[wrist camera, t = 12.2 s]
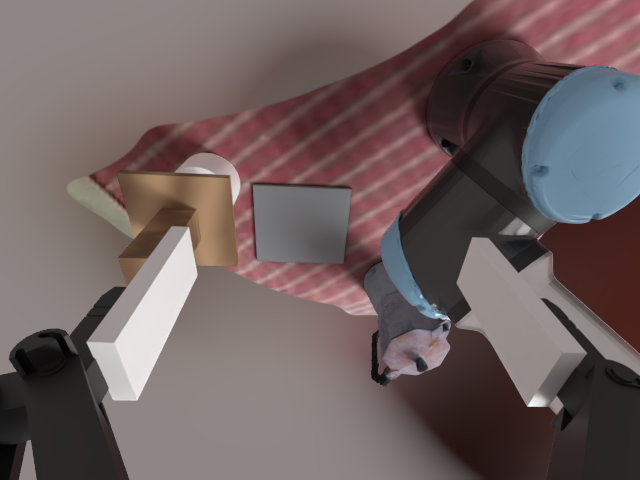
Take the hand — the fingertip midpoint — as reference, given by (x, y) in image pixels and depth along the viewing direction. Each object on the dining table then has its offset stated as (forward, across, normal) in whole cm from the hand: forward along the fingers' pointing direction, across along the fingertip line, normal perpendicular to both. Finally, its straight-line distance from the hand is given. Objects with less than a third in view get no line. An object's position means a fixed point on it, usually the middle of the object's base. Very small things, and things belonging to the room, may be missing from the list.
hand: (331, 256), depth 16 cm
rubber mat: (+35, -2, -18) cm, 39 cm away
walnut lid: (+23, -16, -11) cm, 30 cm away
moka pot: (+35, +14, -29) cm, 47 cm away
